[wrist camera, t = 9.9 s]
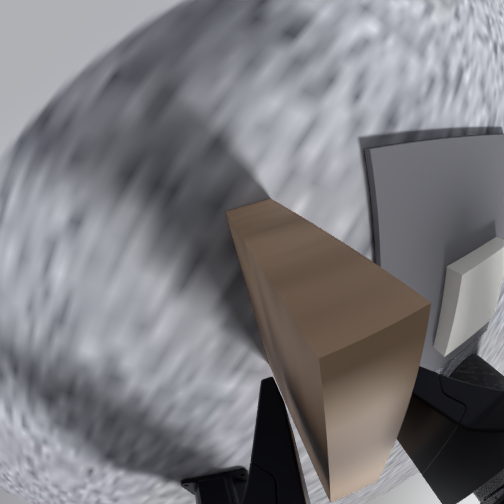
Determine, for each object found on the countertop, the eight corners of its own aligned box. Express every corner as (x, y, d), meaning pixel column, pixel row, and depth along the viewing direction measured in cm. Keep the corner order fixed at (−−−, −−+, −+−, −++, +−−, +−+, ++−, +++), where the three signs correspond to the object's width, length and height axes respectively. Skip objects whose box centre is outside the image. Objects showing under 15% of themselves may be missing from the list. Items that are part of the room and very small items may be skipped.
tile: (432, 346, 18) (482, 309, 19) (444, 357, 17) (493, 316, 18) (446, 266, 15) (496, 236, 16) (462, 275, 14) (509, 242, 15)
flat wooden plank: (302, 352, 15) (377, 480, 7) (269, 364, 15) (330, 502, 7) (270, 198, 12) (431, 302, 4) (225, 211, 12) (318, 358, 3)
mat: (483, 328, 22) (486, 330, 21) (369, 405, 20) (371, 409, 19) (503, 133, 14) (508, 134, 13) (364, 149, 12) (369, 149, 11)
